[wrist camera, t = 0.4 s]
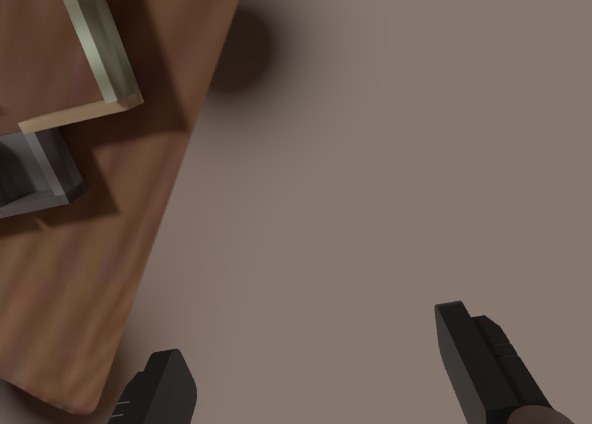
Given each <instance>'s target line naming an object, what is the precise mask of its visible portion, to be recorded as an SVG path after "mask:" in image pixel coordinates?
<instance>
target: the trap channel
mask: <svg viewBox="0 0 592 424" xmlns="http://www.w3.org/2000/svg"><path fill="white" fill-rule="evenodd" d="M63 1H64V3H65V6H66V8H67V10H68V13H69V15H70V18H71V20H72V22H73V25H74V27H75V30H76V32H77V35H78V37H79V39H80V42H81V44H82V47H83V49H84V51H85V54H86V56H87V59H88V61H89V64H90V66H91V68H92V71H93V73H94V76H95V78H96V81H97V83H98V85H99V88H100V90H101V93H102V95H103V97H104V100H102V101H98V102H94V103H90V104H86V105H82V106H77V107H73V108H69V109H65V110H61V111H57V112H52V113H48V114H44V115H40V116H38V117H35V118H32V119H29V120H26V121H23V122H20V123H18V124H19V126H20V128H21V130H22V131H21V132H16V133H12V134H8V135H4V136H0V218H4V217H9V216H13V215H18V214H23V213H28V212H32V211H37V210H42V209H47V208H51V207H56V206H61V205H65V204H70V203H71V202H73V201H74V200H75V199H76V198H78V197H79V196H80V195H82V194H83V193H84V192H86V191H87V190H88V189H87V187H86V185H85V183H84V181H83V179H82V176H81V174H80V172H79V170H78V168H77V166H76V164H75V162H74V160H73V157H72V155H71V153H70V151H69V149H68V147H67V145H66V143H65V141H64V138H63V136H62V134H61V132H60V130H59V128H58V126H62V125H66V124H70V123H74V122H79V121H83V120H87V119H91V118H96V117H100V116H104V115H108V114H113V113H117V112H121V111H125V110H130V109H132V108H134V107H136V106H138V105H140V104H142V103H144V100H143V97H142V94H141V92H140V89H139V86H138V84H137V81H136V78H135V76H134V73H133V70H132V68H131V65H130V62H129V60H128V57H127V54H126V52H125V49H124V46H123V44H122V41H121V38H120V36H119V33H118V30H117V28H116V25H115V22H114V20H113V17H112V14H111V12H110V9H109V6H108V4H107V1H106V0H63Z"/></svg>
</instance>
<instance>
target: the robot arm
mask: <svg viewBox="0 0 592 424" xmlns="http://www.w3.org/2000/svg"><path fill="white" fill-rule="evenodd" d="M435 318H436V327H437V335H438V344H439V349H440V353H441V357H442V360H443V363H444V366H445V369H446V371H447V374H448V376H449V379H450V381H451V383H452V386H453V388H454V391H455V393H456V396H457V398H458V401H459V403H460V406H461V408H462V411H463V413H464V416H465V418H466V421H467V423H468V424H574V423H573V422H572V421H571V420H570V419H568V418H567V417H566V416H564V415H563V414H561V413H560V412H558V411H556V410H554V409H553V408H552V406H551V405H550V404H549V402H548V401H547V399H546V398H545V396H544V395H543V393H542V391H541V390H540V388H539V387H538V385H537V384H536V382H535V381H534V379H533V377H532V376H531V374H530V373H529V371H528V369H527V368H526V366H525V365H524V363H523V362H522V360H521V359H520V357H519V356H518V355H517V352H516V351H515V349H514V348H513V346H512V345H511V344H510V342H509V340H508V338H507V337H506V335H505V333H504V332H503V330H502V329H501V327H500V326H499V325H497V324H496V323H494V322H493V321H492V320H490V319H489V318H487V317H486V316H484V315H483V316H477V317H470V315H469V313H468V311H467V310H466V308H465V306H464V304H463V303H462V302H461V301H455V302H449V303H443V304H437V305H435ZM196 400H197V389H196V384H195V381H194V379H193V377H192V375H191V373H190V371H189V369H188V366H187V364H186V362H185V360H184V358H183V356H182V354H181V352H180V351H179V350H178V349H171V350H166V351H160V352H155V353H153V354H152V355H151V356H150V358H149V360H148V362H147V365H146V367H145V369H144V371H143V372H138V373H137V374H136V376H135V377H134V378H133V379H132V380H131V381H130V382H129V383H128V384H127V386H126V387H125V389H124V391H123V393H122V395H121V397H120V399H119V401H118V405H116V407H115V410H114V411H113V413H112V418H110V419H109V422H108V424H190V422H191V419H192V415H193V412H194V408H195V405H196Z"/></svg>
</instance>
